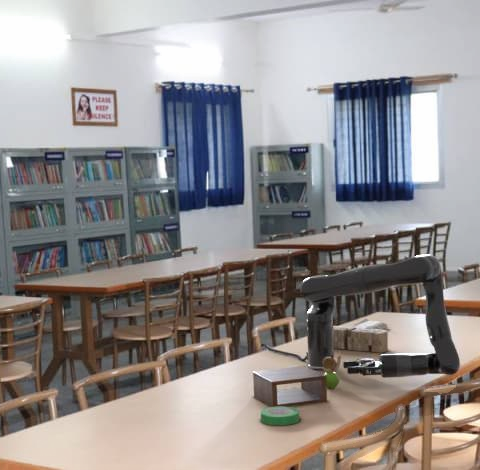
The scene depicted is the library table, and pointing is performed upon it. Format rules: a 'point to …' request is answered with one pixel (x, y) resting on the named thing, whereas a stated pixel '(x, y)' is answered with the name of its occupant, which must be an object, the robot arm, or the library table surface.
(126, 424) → the library table surface
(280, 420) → the tape roll
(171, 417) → the library table surface
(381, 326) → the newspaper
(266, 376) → the shelf
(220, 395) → the library table surface
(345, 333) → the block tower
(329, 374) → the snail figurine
